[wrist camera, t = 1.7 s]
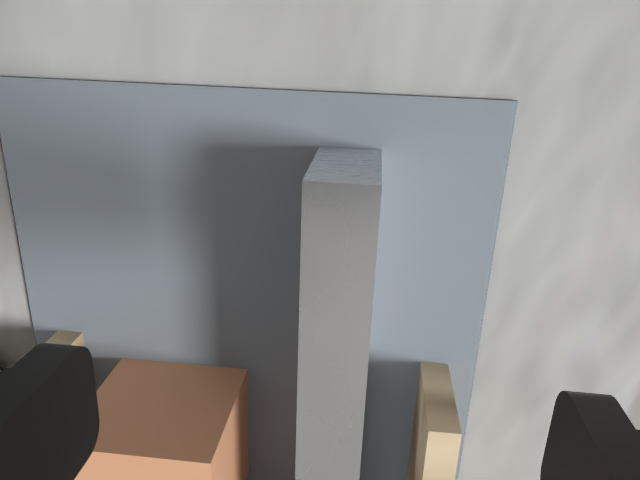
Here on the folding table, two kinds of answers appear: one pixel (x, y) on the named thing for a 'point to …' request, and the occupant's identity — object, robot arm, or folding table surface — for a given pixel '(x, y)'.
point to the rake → (336, 309)
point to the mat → (253, 235)
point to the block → (171, 423)
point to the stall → (428, 426)
